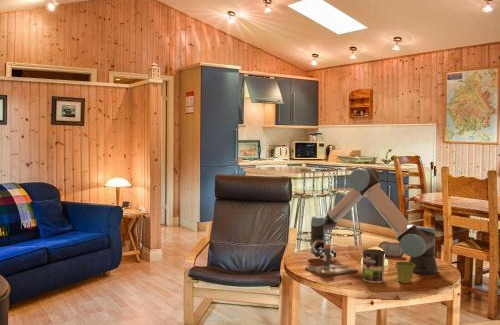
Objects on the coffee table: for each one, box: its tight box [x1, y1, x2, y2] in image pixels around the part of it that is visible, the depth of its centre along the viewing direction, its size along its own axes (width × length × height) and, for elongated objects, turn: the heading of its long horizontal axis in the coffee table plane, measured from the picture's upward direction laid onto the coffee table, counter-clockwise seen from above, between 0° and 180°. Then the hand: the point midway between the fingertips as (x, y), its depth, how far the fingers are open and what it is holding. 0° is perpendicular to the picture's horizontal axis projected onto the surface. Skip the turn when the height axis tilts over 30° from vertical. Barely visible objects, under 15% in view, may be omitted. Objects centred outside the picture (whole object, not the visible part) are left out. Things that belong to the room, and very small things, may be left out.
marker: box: [323, 243, 332, 270], centre depth 253 cm, size 3×3×13 cm
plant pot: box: [394, 261, 415, 284], centre depth 239 cm, size 9×9×9 cm
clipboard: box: [304, 262, 359, 278], centre depth 256 cm, size 16×22×2 cm
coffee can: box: [361, 248, 385, 284], centre depth 241 cm, size 10×10×14 cm
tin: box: [378, 240, 405, 258], centre depth 290 cm, size 15×3×8 cm, turn 69°
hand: (329, 258), depth 248 cm, fingers closed on marker, 3 cm apart
